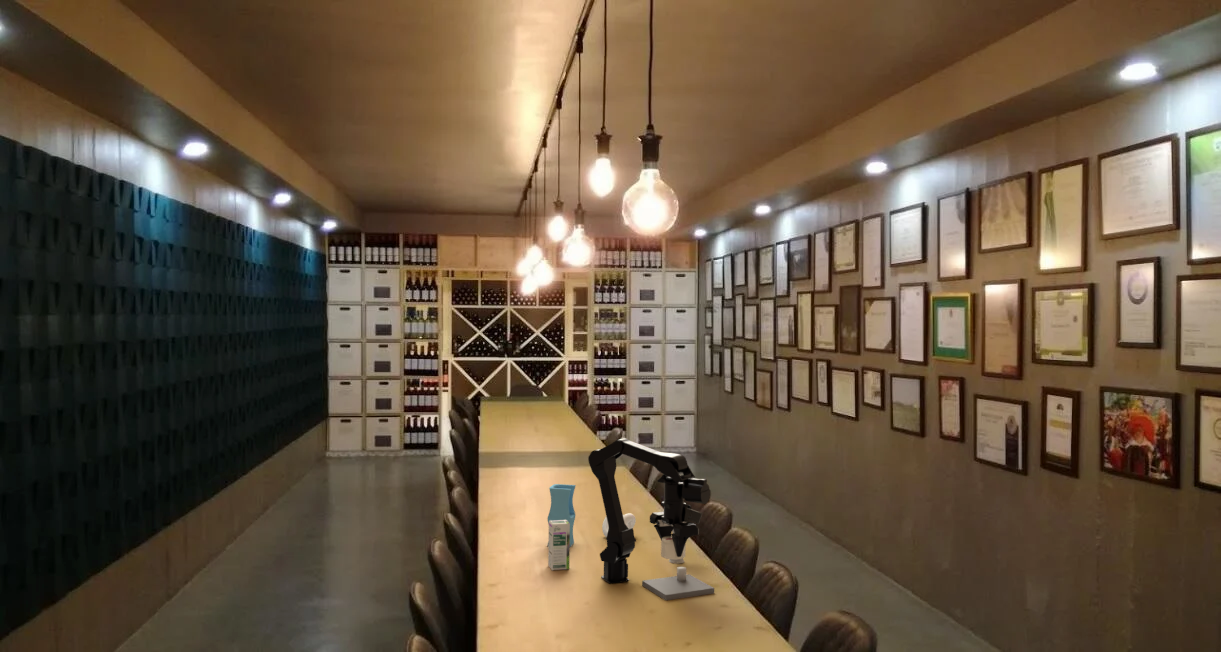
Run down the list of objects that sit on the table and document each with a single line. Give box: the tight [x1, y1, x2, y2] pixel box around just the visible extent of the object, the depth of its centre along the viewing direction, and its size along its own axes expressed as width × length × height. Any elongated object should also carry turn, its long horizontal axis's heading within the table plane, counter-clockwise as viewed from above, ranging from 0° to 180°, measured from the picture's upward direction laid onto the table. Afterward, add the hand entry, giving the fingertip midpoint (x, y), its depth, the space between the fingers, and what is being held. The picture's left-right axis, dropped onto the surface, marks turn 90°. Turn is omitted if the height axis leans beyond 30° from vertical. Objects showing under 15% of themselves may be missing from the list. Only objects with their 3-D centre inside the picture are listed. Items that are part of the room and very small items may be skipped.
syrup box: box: [547, 520, 571, 571], centre depth 262 cm, size 6×6×14 cm
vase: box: [547, 483, 576, 548], centre depth 289 cm, size 8×8×20 cm
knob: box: [660, 535, 687, 560], centre depth 239 cm, size 7×7×5 cm
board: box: [641, 566, 715, 601], centre depth 242 cm, size 16×14×5 cm
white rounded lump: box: [601, 512, 637, 538], centre depth 299 cm, size 11×12×9 cm
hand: (673, 553), depth 239 cm, fingers closed on knob, 6 cm apart
